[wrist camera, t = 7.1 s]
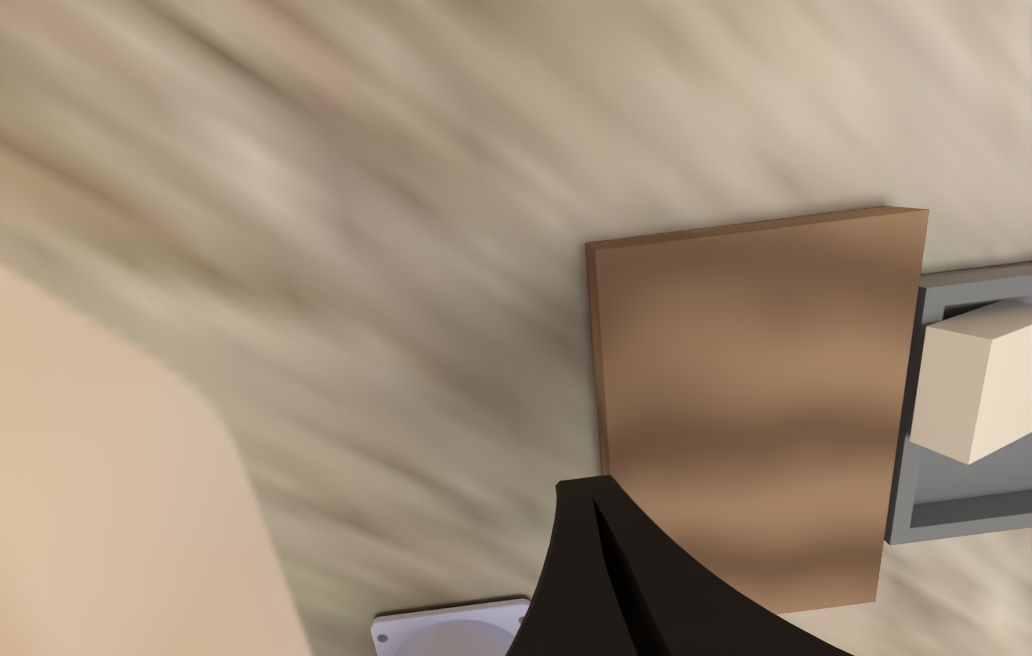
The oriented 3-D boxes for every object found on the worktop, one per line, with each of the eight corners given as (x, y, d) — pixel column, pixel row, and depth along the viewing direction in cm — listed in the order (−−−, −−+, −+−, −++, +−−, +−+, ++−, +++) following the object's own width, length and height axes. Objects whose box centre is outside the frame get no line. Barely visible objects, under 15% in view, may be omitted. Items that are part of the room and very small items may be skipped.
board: (845, 568, 25) (875, 601, 23) (611, 598, 25) (621, 634, 23) (886, 206, 19) (929, 209, 17) (585, 243, 19) (595, 250, 17)
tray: (1083, 490, 24) (1129, 514, 22) (861, 518, 24) (889, 545, 22) (1151, 246, 20) (1212, 252, 19) (890, 278, 20) (926, 288, 19)
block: (982, 407, 22) (1042, 426, 20) (909, 441, 20) (968, 464, 18) (1002, 299, 20) (1069, 310, 19) (926, 326, 19) (991, 339, 17)
